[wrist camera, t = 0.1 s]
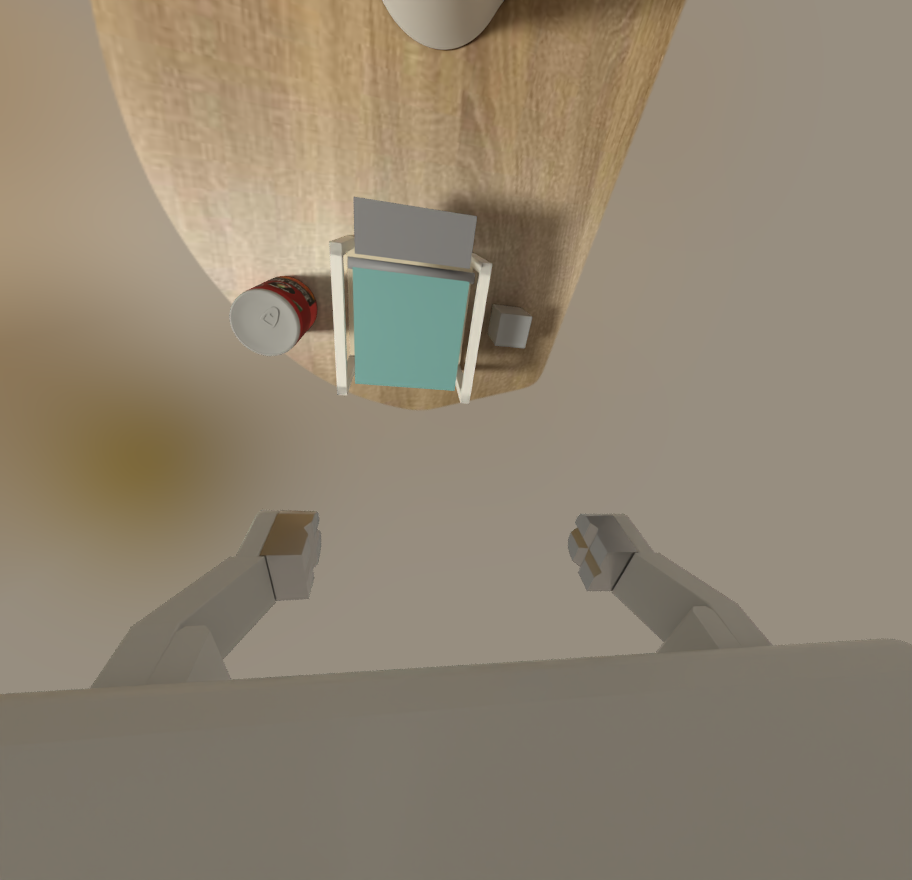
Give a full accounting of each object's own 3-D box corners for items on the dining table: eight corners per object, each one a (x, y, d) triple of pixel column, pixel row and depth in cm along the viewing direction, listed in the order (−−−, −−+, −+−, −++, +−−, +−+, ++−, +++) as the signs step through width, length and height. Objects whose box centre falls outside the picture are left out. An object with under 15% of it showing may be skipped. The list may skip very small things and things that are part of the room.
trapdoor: (349, 196, 37) (342, 195, 33) (478, 217, 39) (486, 217, 35) (354, 374, 47) (349, 389, 43) (455, 382, 50) (459, 397, 46)
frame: (346, 235, 47) (329, 241, 36) (474, 253, 50) (492, 264, 39) (350, 361, 56) (337, 394, 46) (458, 370, 59) (469, 403, 49)
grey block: (492, 304, 54) (501, 313, 49) (521, 307, 55) (532, 316, 50) (487, 333, 56) (495, 345, 51) (514, 336, 57) (524, 348, 52)
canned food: (324, 289, 50) (306, 306, 41) (310, 340, 54) (290, 366, 44) (267, 264, 48) (234, 276, 38) (257, 319, 51) (224, 342, 42)
